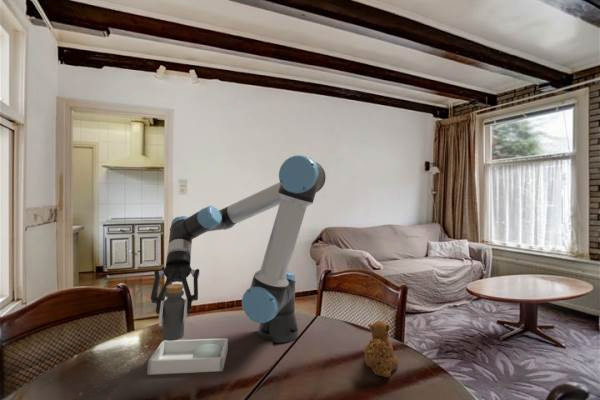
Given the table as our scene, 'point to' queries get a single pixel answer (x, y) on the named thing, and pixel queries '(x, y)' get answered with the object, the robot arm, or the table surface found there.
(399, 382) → the table surface
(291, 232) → the robot arm
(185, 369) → the tray
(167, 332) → the bottle
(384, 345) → the brown fuzzy plush figure
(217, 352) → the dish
